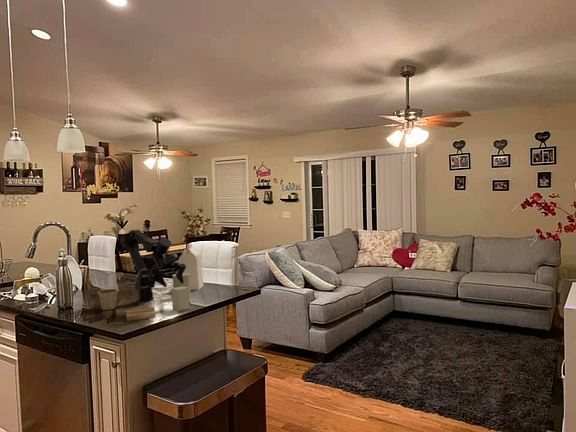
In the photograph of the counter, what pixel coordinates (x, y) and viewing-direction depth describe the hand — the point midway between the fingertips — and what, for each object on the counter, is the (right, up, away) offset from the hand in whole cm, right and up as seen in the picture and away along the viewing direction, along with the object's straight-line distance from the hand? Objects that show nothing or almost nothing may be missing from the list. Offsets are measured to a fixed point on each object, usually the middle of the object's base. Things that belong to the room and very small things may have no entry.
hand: (174, 284), depth 207 cm
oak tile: (-12, -13, -12) cm, 21 cm away
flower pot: (-34, -13, +5) cm, 36 cm away
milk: (-3, -10, +49) cm, 50 cm away
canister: (+4, -11, -3) cm, 12 cm away
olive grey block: (-3, -11, +28) cm, 30 cm away
